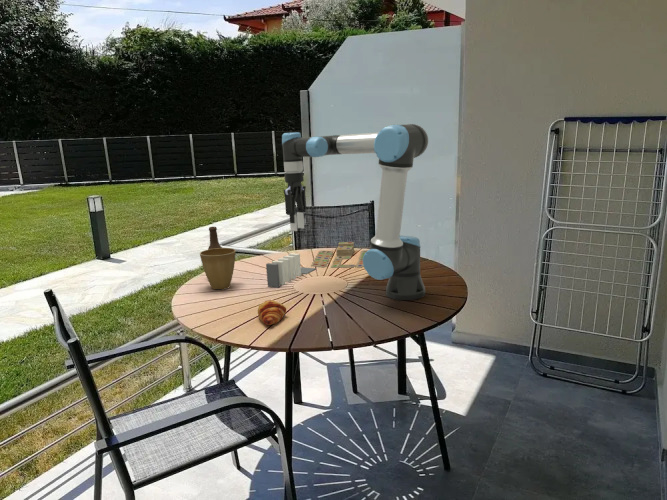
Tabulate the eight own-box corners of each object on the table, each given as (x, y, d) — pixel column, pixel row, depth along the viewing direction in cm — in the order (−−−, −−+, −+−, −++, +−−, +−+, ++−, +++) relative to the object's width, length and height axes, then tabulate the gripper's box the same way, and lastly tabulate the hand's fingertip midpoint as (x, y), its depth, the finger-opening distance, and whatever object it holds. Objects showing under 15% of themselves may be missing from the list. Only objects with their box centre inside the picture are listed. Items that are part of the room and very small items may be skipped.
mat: (306, 274, 236) (306, 273, 236) (291, 272, 239) (291, 272, 239) (315, 269, 244) (315, 268, 243) (301, 267, 247) (301, 267, 247)
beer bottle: (206, 280, 233) (200, 228, 228) (214, 276, 241) (208, 225, 235) (222, 281, 232) (216, 228, 226) (229, 276, 239) (224, 225, 233)
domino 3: (288, 281, 225) (287, 259, 223) (279, 280, 228) (277, 258, 225) (290, 280, 227) (289, 258, 225) (281, 279, 229) (279, 258, 227)
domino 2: (283, 284, 222) (281, 262, 219) (273, 283, 224) (271, 261, 221) (285, 283, 223) (283, 261, 221) (275, 282, 225) (273, 260, 223)
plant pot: (225, 294, 213) (221, 256, 209) (196, 291, 219) (192, 254, 215) (245, 283, 226) (242, 248, 222) (218, 281, 232) (214, 246, 228)
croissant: (266, 317, 194) (255, 299, 192) (289, 303, 194) (278, 285, 192) (263, 337, 173) (250, 318, 172) (288, 322, 173) (275, 303, 171)
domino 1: (277, 287, 218) (275, 264, 215) (267, 286, 220) (265, 264, 218) (279, 286, 219) (278, 264, 217) (269, 285, 221) (268, 263, 219)
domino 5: (299, 276, 233) (297, 254, 231) (289, 275, 235) (288, 254, 233) (301, 275, 235) (299, 254, 232) (291, 274, 237) (290, 253, 234)
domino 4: (294, 279, 229) (292, 257, 227) (284, 278, 231) (283, 256, 229) (296, 278, 231) (294, 256, 228) (286, 277, 233) (284, 255, 231)
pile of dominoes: (319, 252, 279) (318, 242, 278) (369, 251, 276) (369, 241, 274) (307, 269, 246) (307, 258, 245) (364, 268, 242) (364, 257, 241)
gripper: (297, 170, 215) (300, 225, 221) (273, 174, 200) (277, 233, 205) (312, 170, 212) (316, 225, 217) (290, 174, 197) (294, 234, 202)
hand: (297, 229), depth 211 cm, fingers open, 5 cm apart
